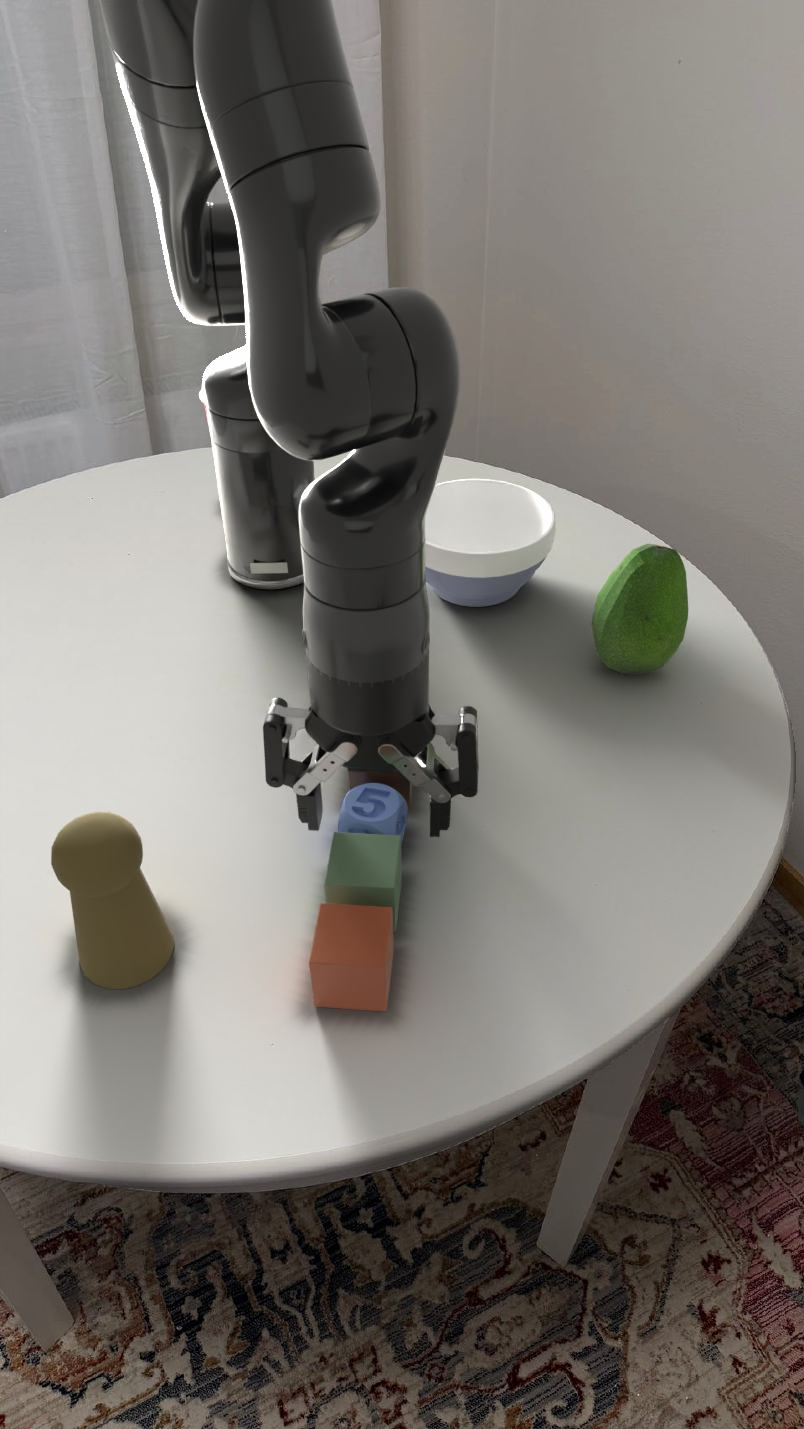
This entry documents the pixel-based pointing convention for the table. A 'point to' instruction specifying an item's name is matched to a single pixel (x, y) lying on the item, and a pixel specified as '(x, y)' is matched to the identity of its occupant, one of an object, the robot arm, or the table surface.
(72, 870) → the tan ball-topped figurine
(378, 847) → the sage block
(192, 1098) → the table surface
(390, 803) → the decorative dice
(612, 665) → the avocado
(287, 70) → the robot arm
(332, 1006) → the terracotta block
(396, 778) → the walnut block
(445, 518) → the bowl
